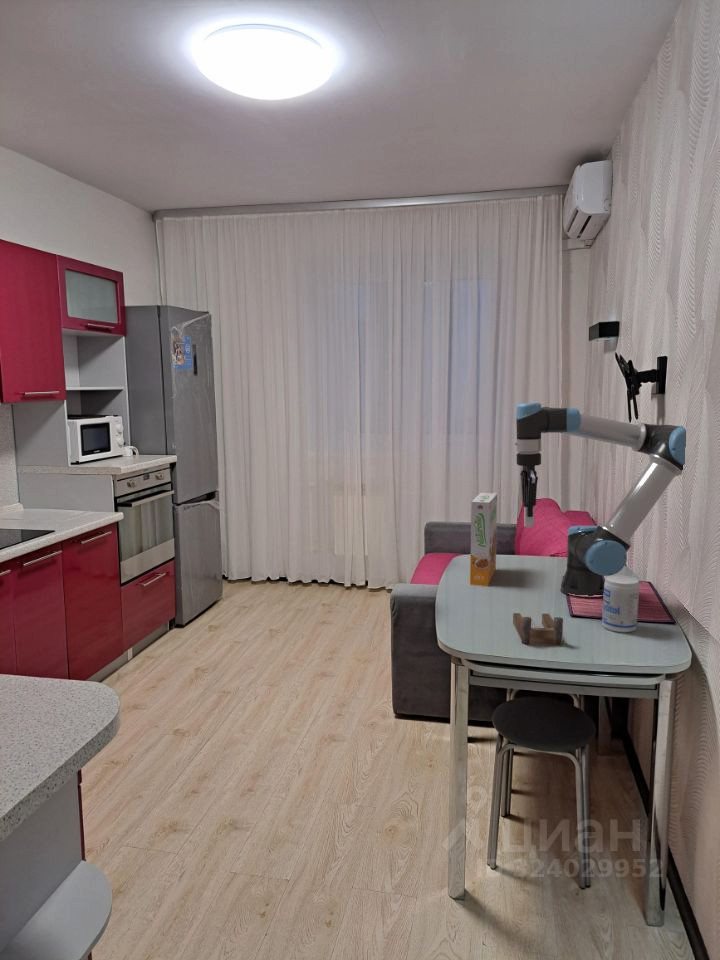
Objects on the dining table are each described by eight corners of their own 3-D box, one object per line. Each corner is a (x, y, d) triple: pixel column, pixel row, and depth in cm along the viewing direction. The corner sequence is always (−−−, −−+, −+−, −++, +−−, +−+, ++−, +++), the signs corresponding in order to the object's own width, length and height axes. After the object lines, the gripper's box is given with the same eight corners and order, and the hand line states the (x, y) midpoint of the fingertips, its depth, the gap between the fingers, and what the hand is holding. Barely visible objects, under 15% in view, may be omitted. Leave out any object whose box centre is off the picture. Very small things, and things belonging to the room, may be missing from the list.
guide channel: (549, 623, 207) (549, 600, 206) (563, 645, 189) (563, 620, 188) (512, 622, 207) (512, 600, 207) (522, 644, 190) (523, 619, 189)
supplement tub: (595, 627, 203) (597, 578, 201) (611, 620, 210) (613, 572, 208) (627, 636, 196) (630, 585, 194) (642, 628, 202) (645, 578, 201)
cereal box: (487, 585, 247) (489, 502, 243) (470, 584, 248) (471, 501, 245) (495, 570, 268) (497, 493, 264) (479, 569, 270) (480, 492, 266)
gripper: (512, 451, 224) (512, 522, 227) (521, 454, 211) (521, 531, 214) (535, 450, 224) (535, 522, 227) (546, 454, 211) (546, 530, 214)
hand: (529, 526), depth 221 cm, fingers closed
